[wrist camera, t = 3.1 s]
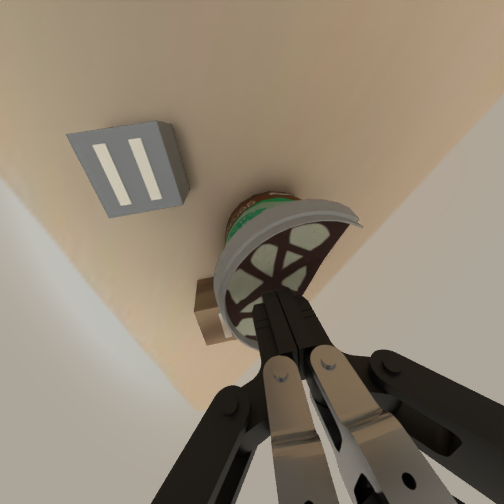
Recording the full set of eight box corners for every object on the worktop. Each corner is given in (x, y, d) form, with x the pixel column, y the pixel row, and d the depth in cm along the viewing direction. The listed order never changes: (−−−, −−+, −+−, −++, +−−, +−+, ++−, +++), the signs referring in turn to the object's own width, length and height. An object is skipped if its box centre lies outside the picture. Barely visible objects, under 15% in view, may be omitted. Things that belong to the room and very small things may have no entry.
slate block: (105, 134, 16) (64, 134, 11) (171, 124, 16) (155, 120, 12) (133, 198, 18) (108, 219, 14) (189, 188, 19) (182, 205, 14)
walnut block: (197, 279, 24) (193, 313, 19) (240, 271, 24) (246, 302, 20) (208, 311, 26) (206, 346, 22) (246, 302, 27) (253, 336, 22)
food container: (246, 150, 18) (275, 165, 9) (302, 182, 20) (369, 218, 11) (196, 263, 22) (185, 343, 14) (246, 279, 25) (264, 357, 16)
